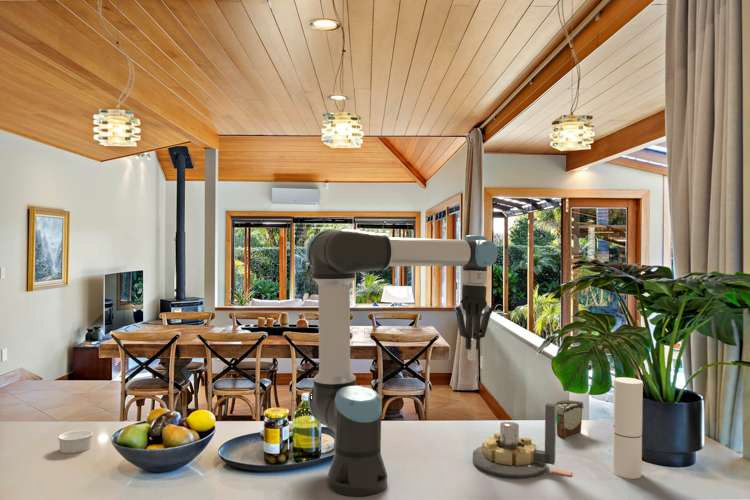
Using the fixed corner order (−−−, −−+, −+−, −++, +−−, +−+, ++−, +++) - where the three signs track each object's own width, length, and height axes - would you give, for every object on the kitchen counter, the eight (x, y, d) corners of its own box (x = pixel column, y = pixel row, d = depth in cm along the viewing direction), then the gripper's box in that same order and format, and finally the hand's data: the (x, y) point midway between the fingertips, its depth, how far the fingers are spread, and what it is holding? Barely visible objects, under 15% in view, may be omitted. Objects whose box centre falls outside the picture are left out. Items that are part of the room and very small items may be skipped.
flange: (492, 482, 144) (493, 439, 144) (461, 453, 164) (461, 416, 163) (561, 474, 149) (561, 433, 149) (523, 448, 169) (523, 411, 169)
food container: (566, 427, 189) (566, 397, 189) (583, 432, 184) (583, 401, 184) (545, 435, 181) (545, 404, 181) (562, 440, 176) (562, 408, 176)
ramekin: (55, 448, 165) (55, 433, 165) (88, 441, 170) (88, 427, 170) (61, 457, 158) (61, 441, 158) (95, 450, 163) (96, 435, 163)
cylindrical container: (635, 468, 154) (637, 377, 154) (645, 479, 147) (647, 384, 147) (608, 467, 155) (610, 376, 155) (617, 477, 148) (618, 383, 148)
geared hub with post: (477, 459, 153) (478, 402, 153) (490, 443, 166) (491, 390, 166) (550, 472, 145) (551, 412, 145) (558, 454, 157) (559, 399, 157)
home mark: (551, 473, 150) (551, 471, 150) (552, 469, 153) (552, 468, 153) (570, 476, 148) (570, 475, 148) (571, 473, 150) (571, 471, 150)
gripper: (459, 284, 172) (456, 361, 171) (498, 286, 175) (495, 362, 174) (450, 283, 179) (447, 357, 178) (488, 285, 182) (485, 358, 181)
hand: (471, 359), depth 176 cm, fingers closed
